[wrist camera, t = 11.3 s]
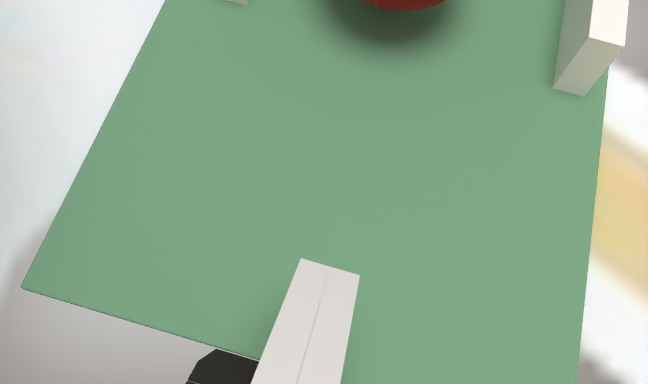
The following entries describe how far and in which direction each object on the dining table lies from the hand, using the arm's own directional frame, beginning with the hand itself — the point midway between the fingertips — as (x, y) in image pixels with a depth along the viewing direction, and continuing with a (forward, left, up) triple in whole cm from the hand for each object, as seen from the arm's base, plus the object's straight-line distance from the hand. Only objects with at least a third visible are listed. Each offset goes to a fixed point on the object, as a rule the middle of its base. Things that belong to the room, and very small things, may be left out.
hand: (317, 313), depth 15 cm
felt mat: (0, +11, -4) cm, 11 cm away
